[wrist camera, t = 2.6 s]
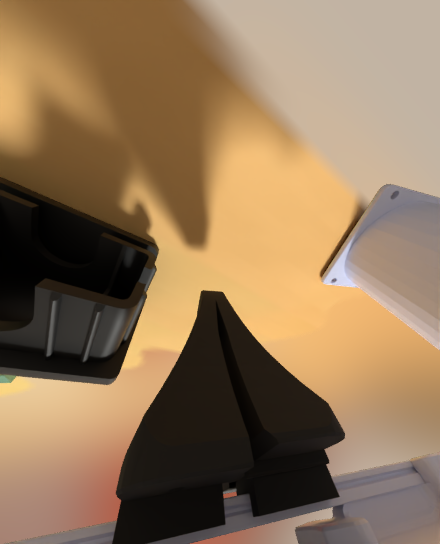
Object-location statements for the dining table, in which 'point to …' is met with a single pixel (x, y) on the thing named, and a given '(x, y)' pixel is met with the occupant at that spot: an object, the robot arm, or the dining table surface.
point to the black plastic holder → (67, 289)
